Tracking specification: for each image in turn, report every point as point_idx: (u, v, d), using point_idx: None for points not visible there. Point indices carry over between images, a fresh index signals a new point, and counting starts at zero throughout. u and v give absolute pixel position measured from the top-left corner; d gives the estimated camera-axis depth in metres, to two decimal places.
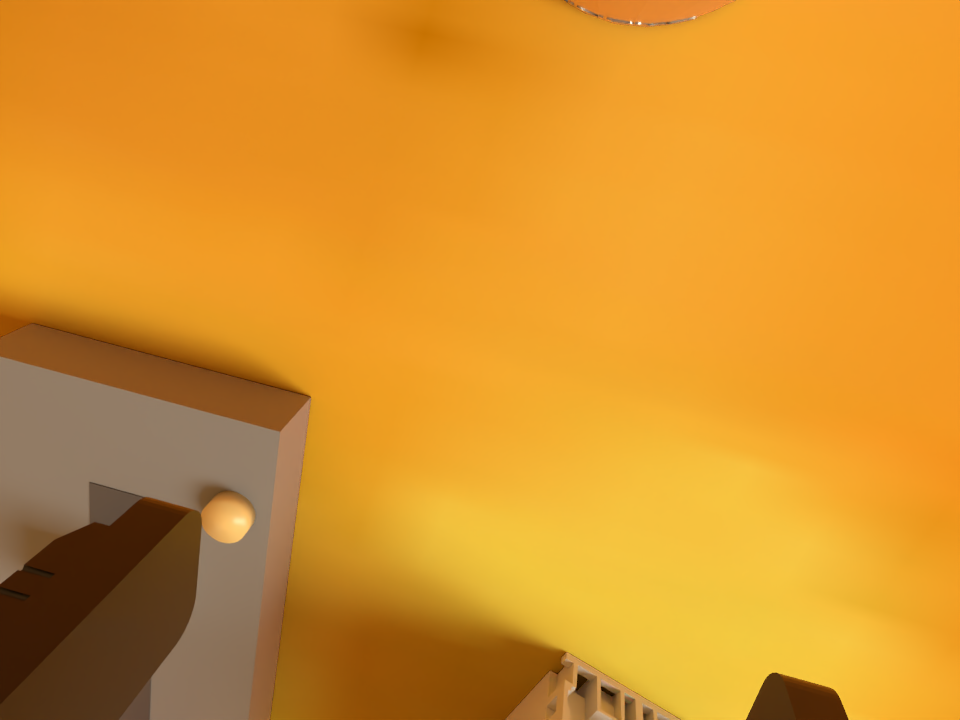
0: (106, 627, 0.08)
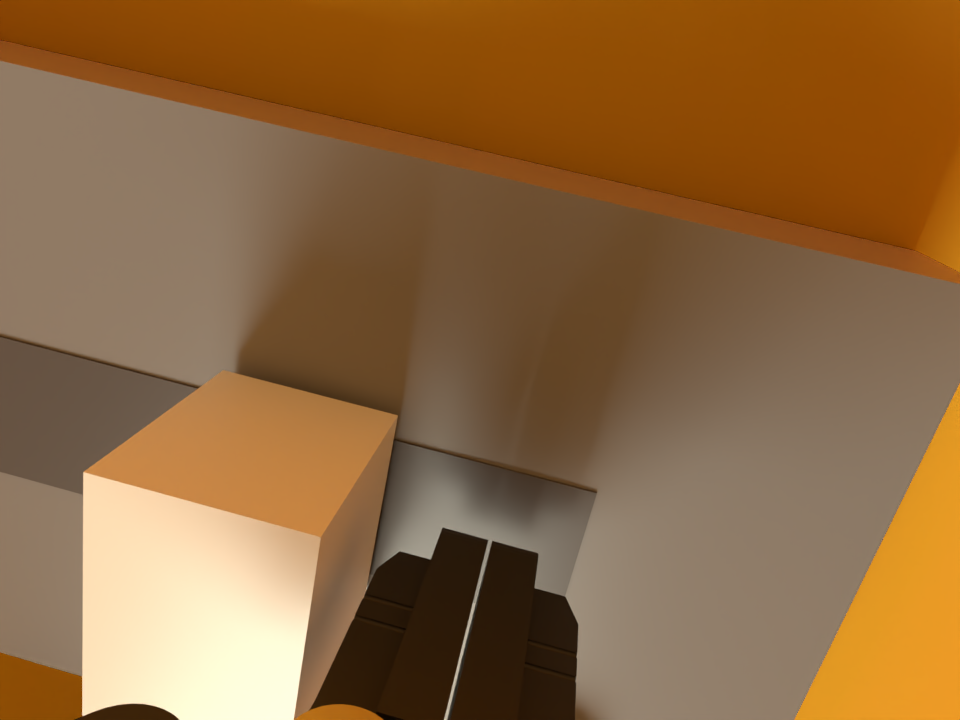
0: None
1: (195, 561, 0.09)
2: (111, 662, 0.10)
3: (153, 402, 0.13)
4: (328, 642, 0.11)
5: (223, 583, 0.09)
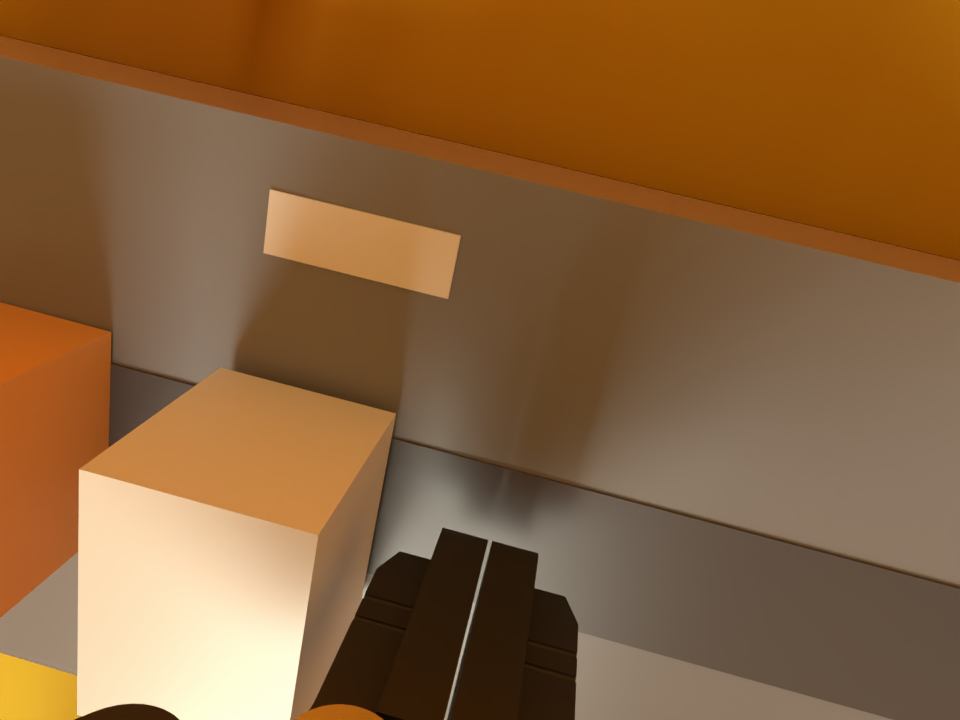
0: None
1: (192, 559, 0.09)
2: (106, 660, 0.10)
3: (594, 519, 0.12)
4: (325, 641, 0.11)
5: (218, 582, 0.09)
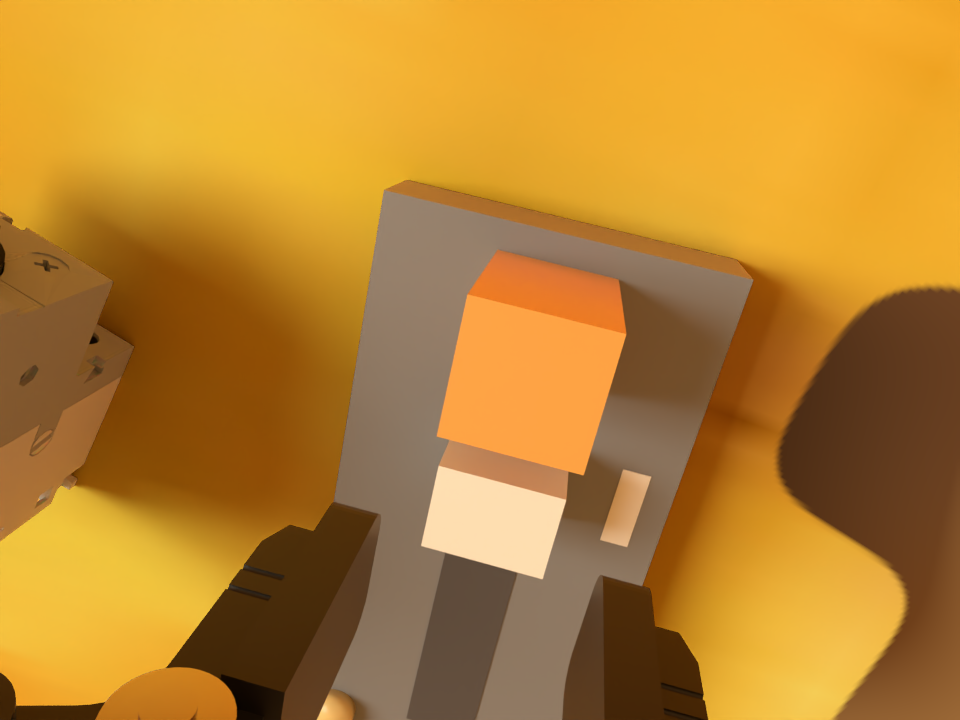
0: (332, 620, 0.09)
1: (527, 533, 0.23)
2: (471, 487, 0.22)
3: (498, 584, 0.28)
4: None
5: (517, 540, 0.23)
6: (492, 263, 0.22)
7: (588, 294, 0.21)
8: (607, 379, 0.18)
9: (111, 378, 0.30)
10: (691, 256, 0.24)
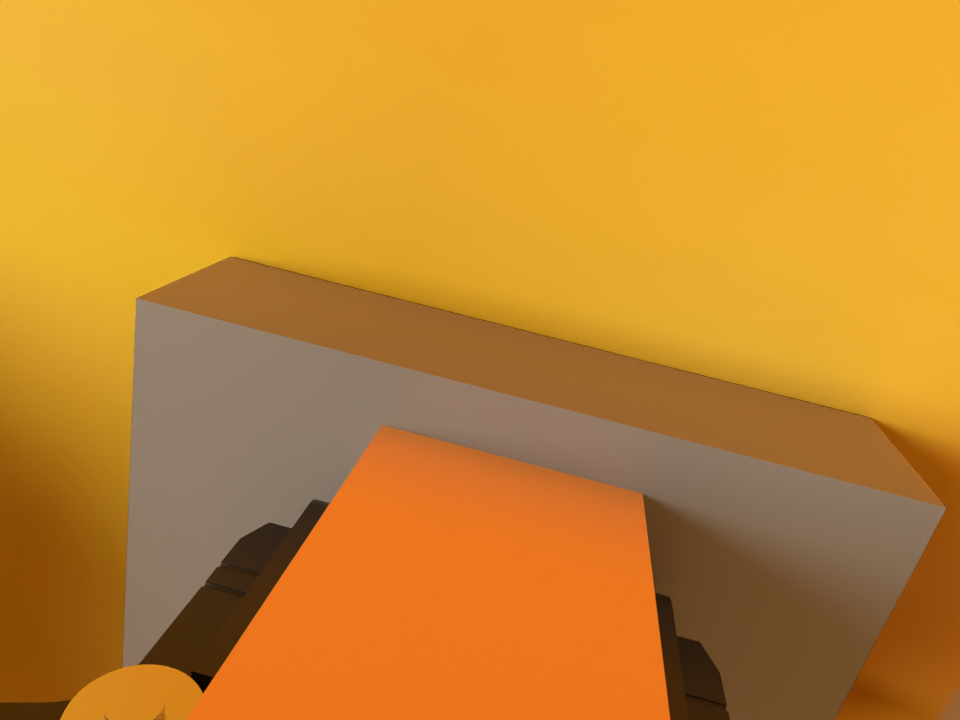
0: None
1: None
2: None
3: None
4: None
5: None
6: (344, 496, 0.09)
7: (572, 604, 0.08)
8: None
9: None
10: (791, 429, 0.12)
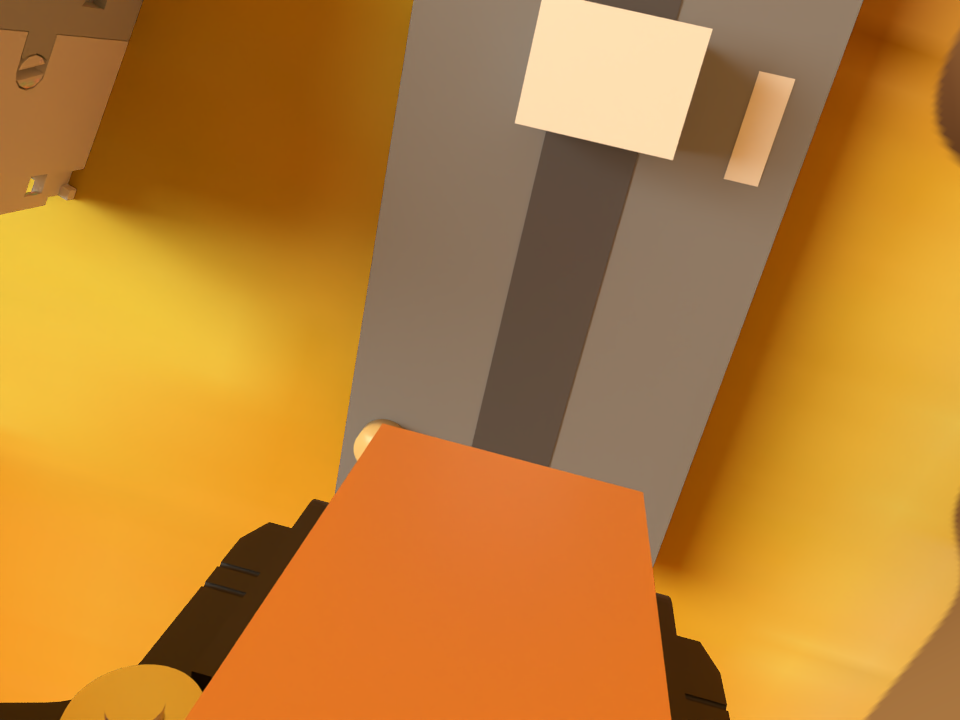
0: None
1: (657, 88, 0.17)
2: (586, 21, 0.17)
3: (590, 255, 0.23)
4: None
5: (643, 102, 0.18)
6: (344, 494, 0.09)
7: (573, 603, 0.08)
8: None
9: (116, 33, 0.25)
10: None
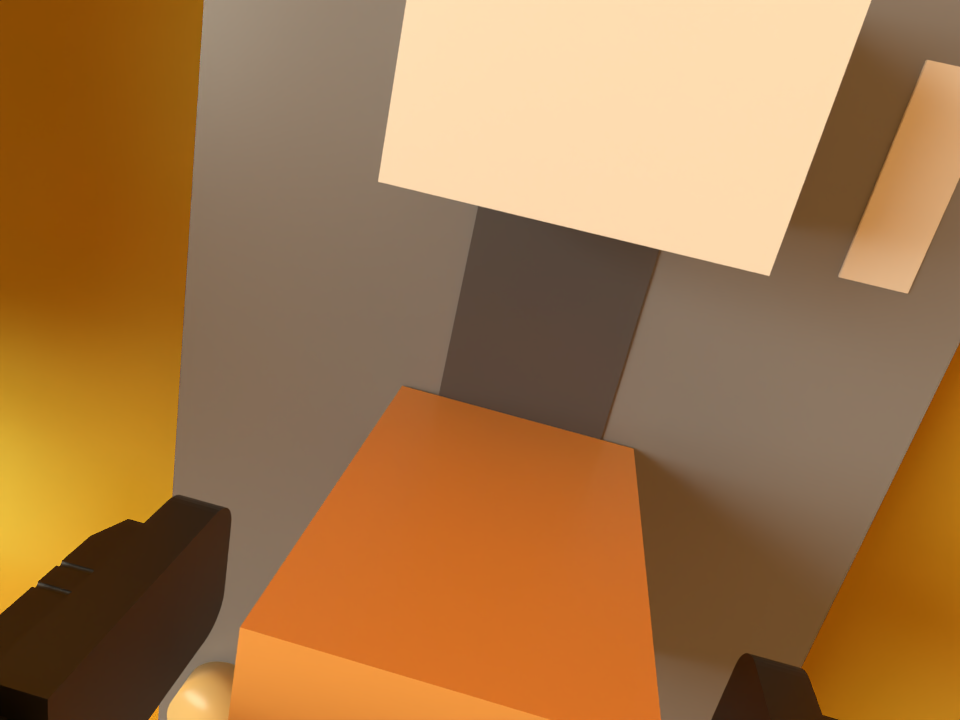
0: (144, 621, 0.08)
1: (735, 96, 0.07)
2: None
3: (573, 411, 0.12)
4: None
5: (697, 132, 0.07)
6: (372, 442, 0.10)
7: (570, 532, 0.09)
8: None
9: None
10: None
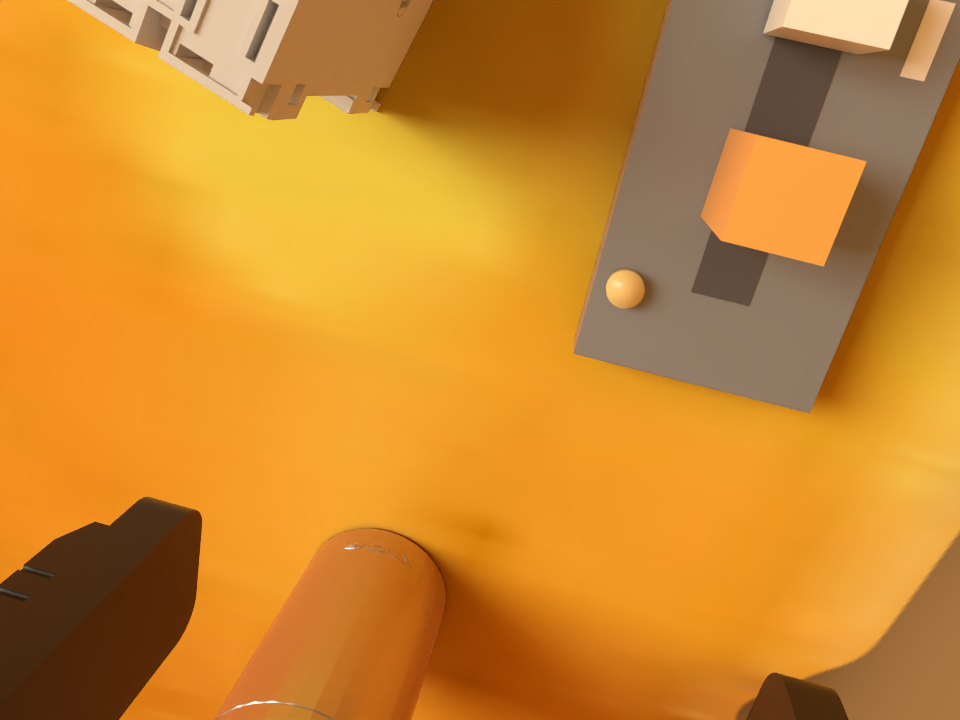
0: (105, 627, 0.08)
1: (883, 0, 0.27)
2: None
3: (796, 136, 0.32)
4: (807, 36, 0.28)
5: (873, 10, 0.27)
6: None
7: None
8: (849, 194, 0.27)
9: None
10: None
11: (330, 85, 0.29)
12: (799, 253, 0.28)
